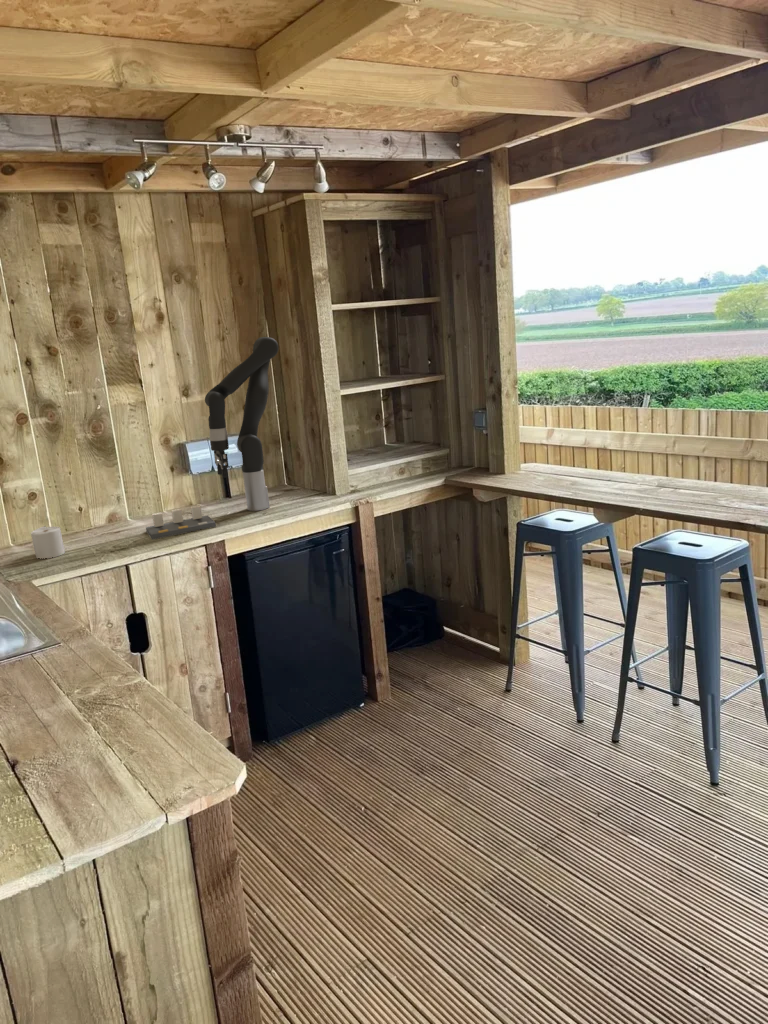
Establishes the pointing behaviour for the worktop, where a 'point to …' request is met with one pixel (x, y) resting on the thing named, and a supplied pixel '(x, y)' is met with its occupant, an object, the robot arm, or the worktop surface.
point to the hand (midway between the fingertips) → (222, 475)
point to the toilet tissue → (47, 542)
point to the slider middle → (177, 515)
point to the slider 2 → (196, 512)
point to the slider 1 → (158, 519)
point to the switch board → (180, 527)
